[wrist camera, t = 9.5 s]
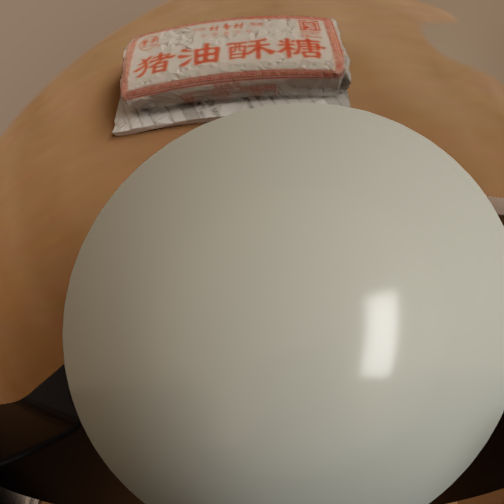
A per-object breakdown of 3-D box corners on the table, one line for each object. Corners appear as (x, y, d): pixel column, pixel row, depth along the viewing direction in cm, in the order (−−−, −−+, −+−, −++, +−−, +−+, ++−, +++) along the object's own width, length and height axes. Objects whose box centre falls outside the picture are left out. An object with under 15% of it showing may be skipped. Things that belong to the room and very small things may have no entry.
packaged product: (336, 2, 15) (367, 85, 13) (329, 40, 19) (350, 124, 18) (120, 26, 16) (86, 112, 15) (139, 57, 21) (117, 141, 20)
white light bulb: (265, 381, 14) (233, 575, 2) (205, 285, 15) (12, 277, 3) (361, 321, 14) (545, 389, 2) (302, 225, 15) (370, 49, 3)
